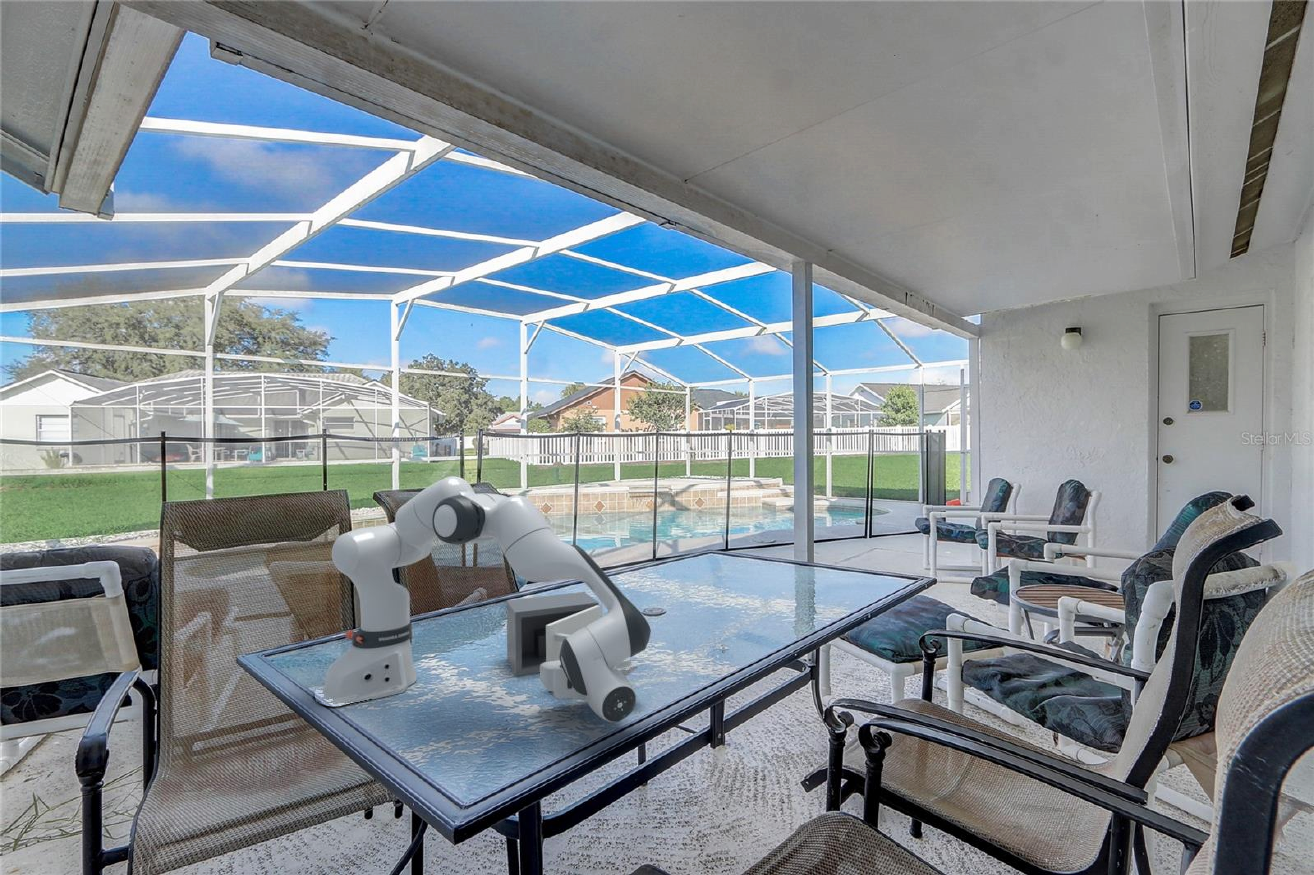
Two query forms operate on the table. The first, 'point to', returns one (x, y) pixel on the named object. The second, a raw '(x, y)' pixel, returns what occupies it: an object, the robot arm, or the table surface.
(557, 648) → the door
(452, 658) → the table surface
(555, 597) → the box
